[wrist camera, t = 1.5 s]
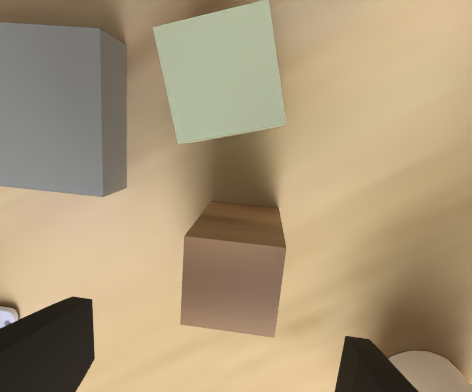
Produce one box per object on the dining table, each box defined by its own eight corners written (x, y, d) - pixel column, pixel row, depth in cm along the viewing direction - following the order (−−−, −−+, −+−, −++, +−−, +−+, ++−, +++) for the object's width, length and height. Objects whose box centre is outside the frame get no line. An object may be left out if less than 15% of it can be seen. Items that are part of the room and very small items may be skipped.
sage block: (278, 127, 16) (286, 124, 10) (208, 140, 16) (177, 144, 11) (267, 50, 15) (268, -1, 9) (194, 66, 16) (152, 27, 10)
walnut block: (271, 270, 18) (274, 337, 12) (207, 262, 18) (180, 324, 12) (278, 208, 17) (285, 248, 11) (211, 201, 17) (184, 235, 11)
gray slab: (129, 186, 18) (103, 196, 15) (9, 174, 19) (-38, 181, 16) (129, 46, 16) (99, 28, 13) (-3, 38, 17) (-59, 18, 14)
